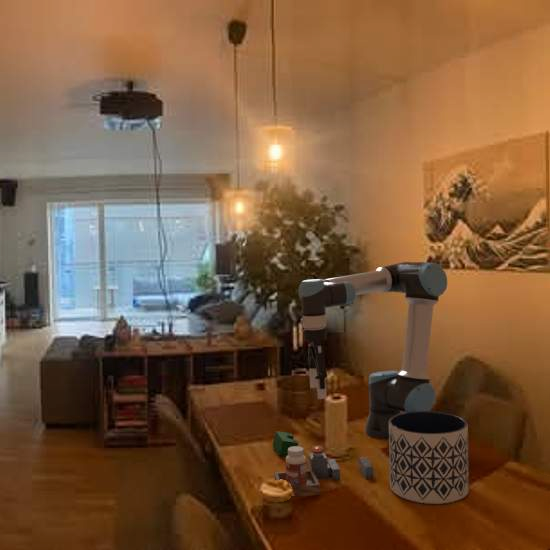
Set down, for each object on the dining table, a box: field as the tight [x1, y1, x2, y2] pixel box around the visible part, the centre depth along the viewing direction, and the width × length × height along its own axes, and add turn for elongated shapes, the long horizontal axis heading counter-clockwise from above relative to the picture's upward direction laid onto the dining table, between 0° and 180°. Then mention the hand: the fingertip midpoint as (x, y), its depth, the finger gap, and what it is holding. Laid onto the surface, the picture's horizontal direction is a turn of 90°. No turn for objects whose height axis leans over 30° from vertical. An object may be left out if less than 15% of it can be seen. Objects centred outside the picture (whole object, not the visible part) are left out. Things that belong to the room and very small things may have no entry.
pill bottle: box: [285, 445, 307, 485], centre depth 191 cm, size 6×6×11 cm
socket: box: [308, 452, 374, 482], centre depth 200 cm, size 19×9×6 cm, turn 96°
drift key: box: [310, 445, 325, 458], centre depth 200 cm, size 4×4×7 cm
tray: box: [273, 469, 321, 497], centre depth 191 cm, size 12×12×3 cm
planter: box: [388, 410, 470, 505], centre depth 186 cm, size 22×22×20 cm
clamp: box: [272, 430, 299, 457], centre depth 224 cm, size 12×6×9 cm, turn 7°
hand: (318, 393), depth 206 cm, fingers open, 13 cm apart
